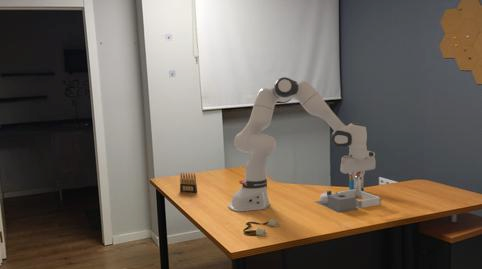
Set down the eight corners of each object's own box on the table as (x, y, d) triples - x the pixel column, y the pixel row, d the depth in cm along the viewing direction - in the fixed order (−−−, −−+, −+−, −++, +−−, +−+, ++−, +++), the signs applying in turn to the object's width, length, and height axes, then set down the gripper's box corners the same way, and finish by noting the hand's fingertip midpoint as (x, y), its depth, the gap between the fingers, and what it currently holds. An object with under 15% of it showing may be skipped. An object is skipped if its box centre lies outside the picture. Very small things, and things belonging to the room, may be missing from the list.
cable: (233, 233, 210) (233, 226, 210) (249, 222, 225) (249, 215, 224) (265, 238, 203) (264, 230, 203) (279, 226, 217) (279, 219, 217)
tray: (360, 210, 235) (360, 201, 234) (336, 201, 253) (336, 192, 252) (380, 207, 240) (380, 197, 239) (356, 197, 258) (356, 189, 257)
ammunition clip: (180, 192, 284) (179, 172, 282) (181, 191, 285) (180, 172, 284) (196, 193, 280) (195, 173, 278) (197, 192, 282) (196, 172, 280)
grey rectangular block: (338, 215, 228) (338, 200, 227) (314, 204, 248) (314, 190, 247) (358, 211, 233) (358, 197, 232) (333, 201, 253) (333, 187, 252)
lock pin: (358, 197, 243) (357, 173, 243) (356, 196, 246) (354, 172, 245) (362, 196, 244) (360, 172, 244) (359, 195, 246) (358, 172, 246)
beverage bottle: (352, 188, 277) (352, 155, 274) (366, 190, 272) (366, 156, 269) (346, 192, 270) (346, 158, 267) (360, 193, 265) (360, 159, 262)
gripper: (345, 156, 236) (345, 183, 238) (377, 152, 244) (377, 178, 246) (337, 154, 241) (337, 181, 243) (369, 150, 249) (369, 176, 251)
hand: (358, 179), depth 245 cm, fingers closed on lock pin, 2 cm apart
